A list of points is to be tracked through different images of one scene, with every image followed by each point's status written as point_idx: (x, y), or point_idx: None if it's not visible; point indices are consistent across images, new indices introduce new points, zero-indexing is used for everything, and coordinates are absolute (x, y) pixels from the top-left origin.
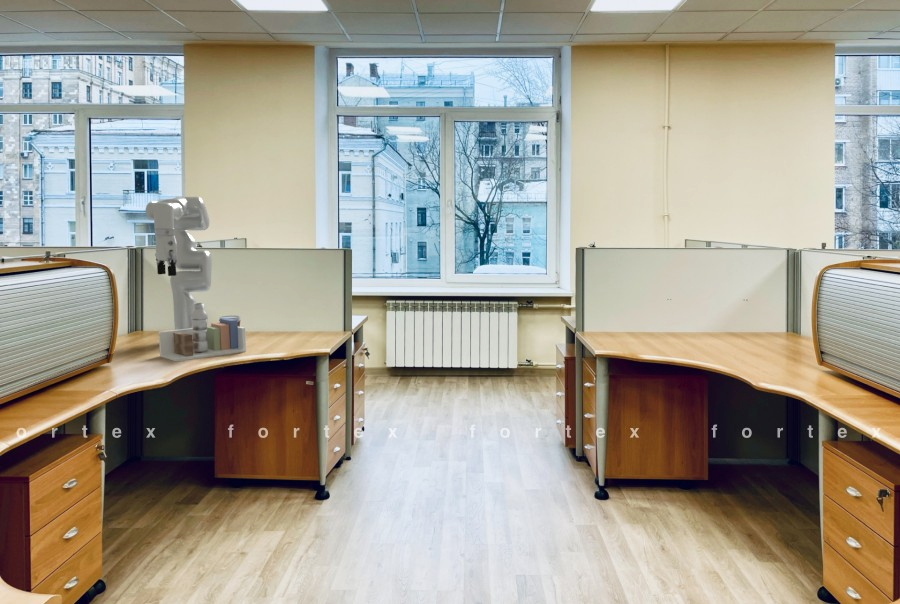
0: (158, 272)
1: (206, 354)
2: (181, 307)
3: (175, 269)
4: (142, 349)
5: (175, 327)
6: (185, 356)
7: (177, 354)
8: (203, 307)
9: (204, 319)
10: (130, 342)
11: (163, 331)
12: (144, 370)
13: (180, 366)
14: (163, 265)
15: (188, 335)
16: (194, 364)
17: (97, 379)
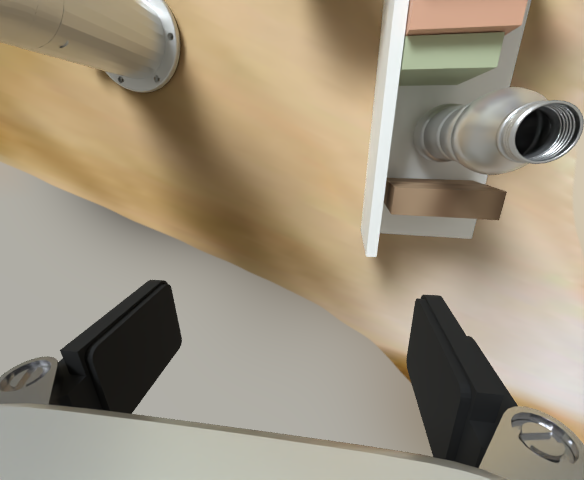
0: (171, 355)
1: None
2: (62, 25)
3: (470, 351)
4: (228, 216)
5: (111, 71)
6: None
7: None
8: (563, 112)
9: (539, 124)
10: (104, 192)
11: (370, 242)
12: (503, 330)
13: (545, 258)
14: (103, 365)
15: (500, 205)
16: (559, 221)
17: None
